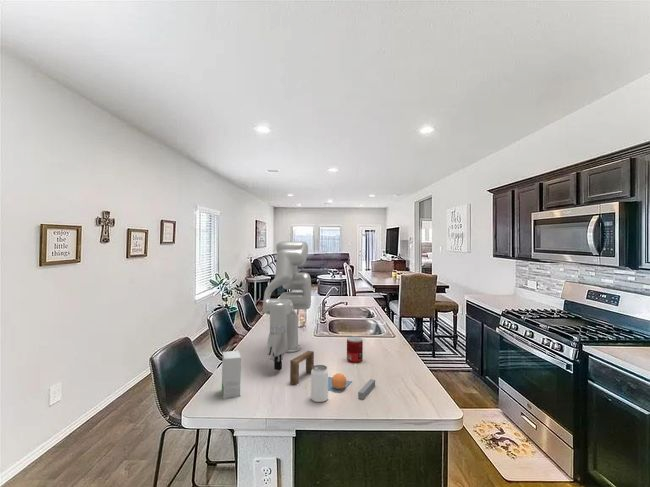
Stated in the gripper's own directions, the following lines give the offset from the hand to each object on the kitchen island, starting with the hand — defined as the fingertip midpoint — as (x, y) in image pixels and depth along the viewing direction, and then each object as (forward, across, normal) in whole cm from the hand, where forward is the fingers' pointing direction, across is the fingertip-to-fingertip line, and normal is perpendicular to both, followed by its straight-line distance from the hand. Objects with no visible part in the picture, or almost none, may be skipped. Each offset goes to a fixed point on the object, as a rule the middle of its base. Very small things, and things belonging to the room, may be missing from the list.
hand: (278, 369), depth 156 cm
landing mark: (+2, 0, +28) cm, 28 cm away
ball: (-2, +2, +32) cm, 32 cm away
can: (+2, +14, +29) cm, 32 cm away
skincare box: (+2, +26, -4) cm, 26 cm away
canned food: (+2, -31, +25) cm, 40 cm away
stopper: (+2, 0, +43) cm, 43 cm away
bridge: (+2, 0, +13) cm, 13 cm away
